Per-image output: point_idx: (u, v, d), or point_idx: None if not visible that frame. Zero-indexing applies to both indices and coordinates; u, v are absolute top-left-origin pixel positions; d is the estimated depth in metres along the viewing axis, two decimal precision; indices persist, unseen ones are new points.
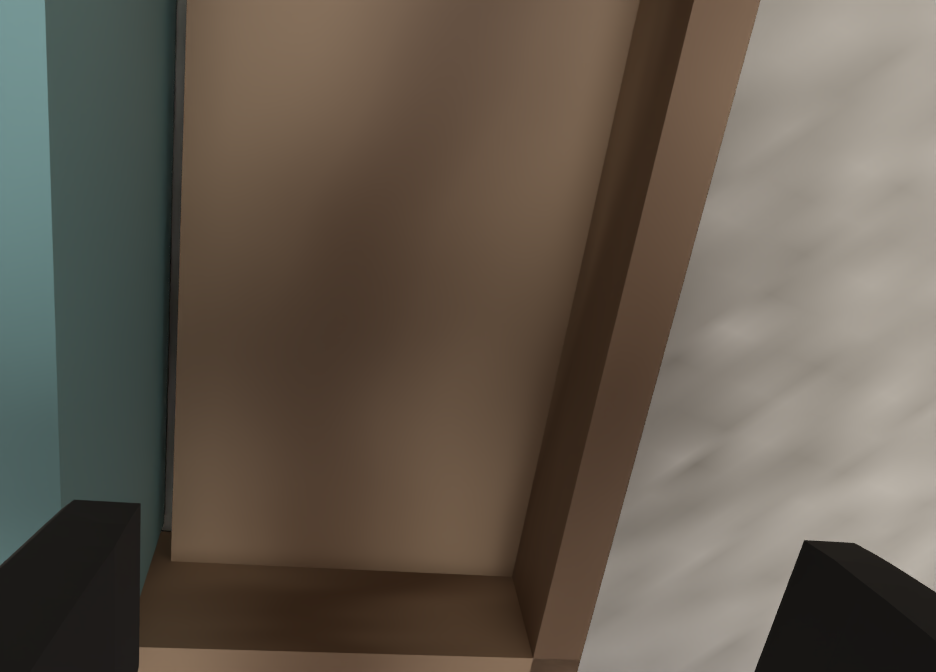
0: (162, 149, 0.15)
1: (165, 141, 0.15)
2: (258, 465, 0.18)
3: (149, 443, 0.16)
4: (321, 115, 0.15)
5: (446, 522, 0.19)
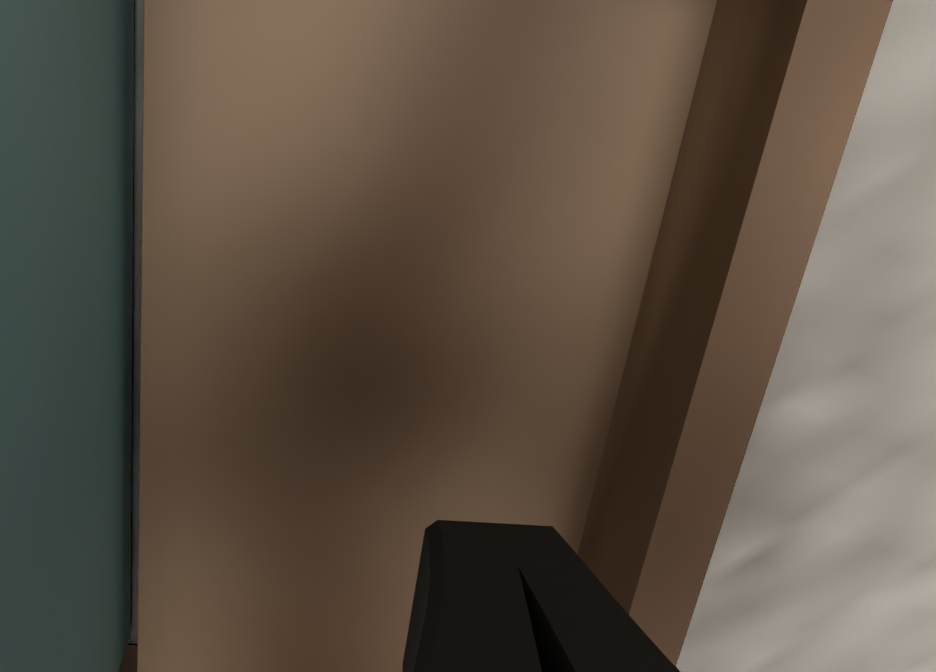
0: (116, 209, 0.12)
1: (120, 198, 0.12)
2: (240, 576, 0.15)
3: (105, 562, 0.13)
4: (315, 165, 0.12)
5: None
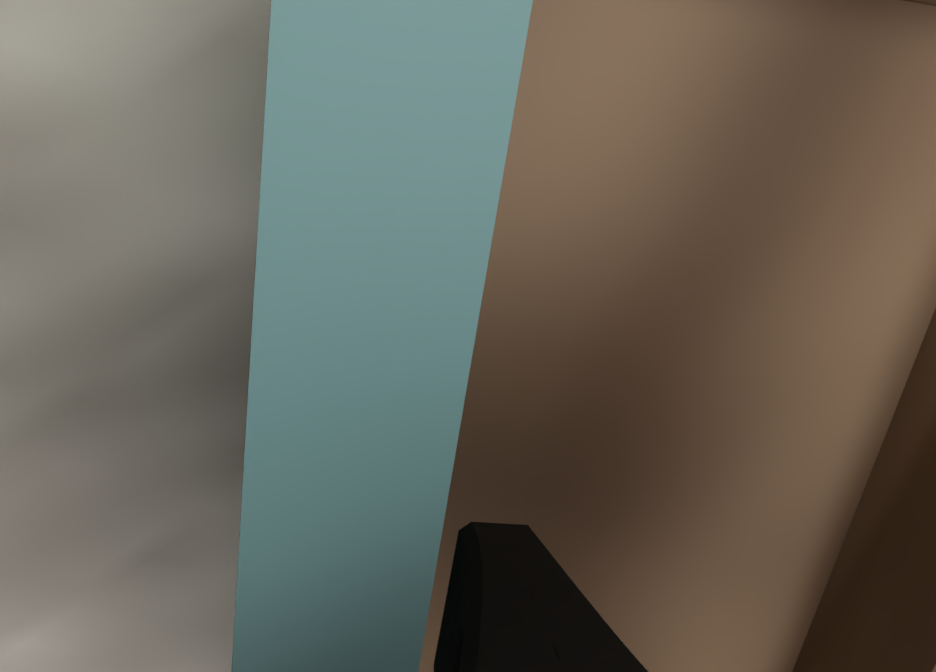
0: None
1: None
2: None
3: None
4: (597, 227, 0.11)
5: None
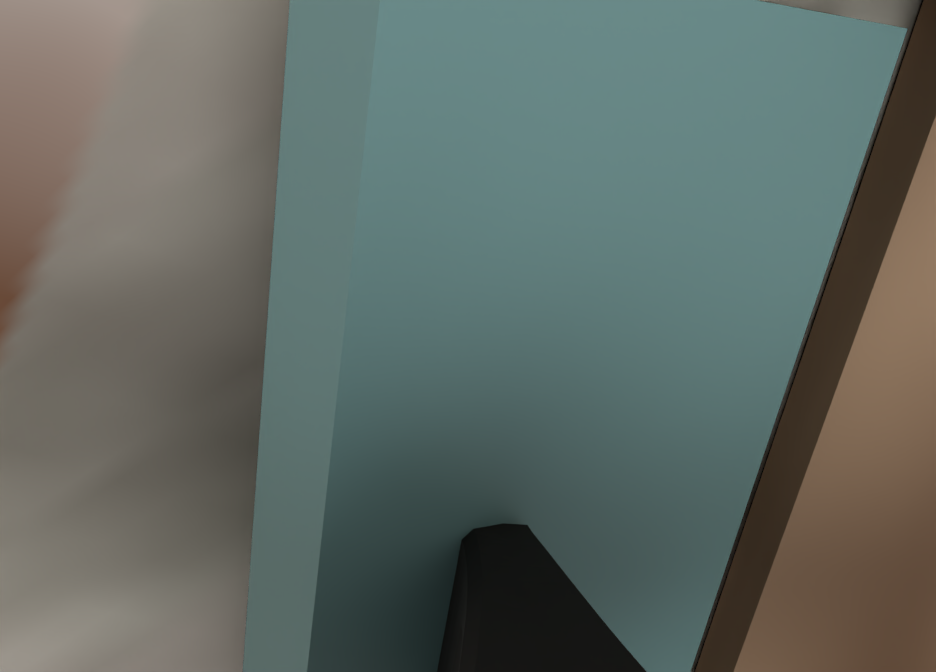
0: (761, 342, 0.11)
1: (775, 333, 0.11)
2: None
3: None
4: None
5: None
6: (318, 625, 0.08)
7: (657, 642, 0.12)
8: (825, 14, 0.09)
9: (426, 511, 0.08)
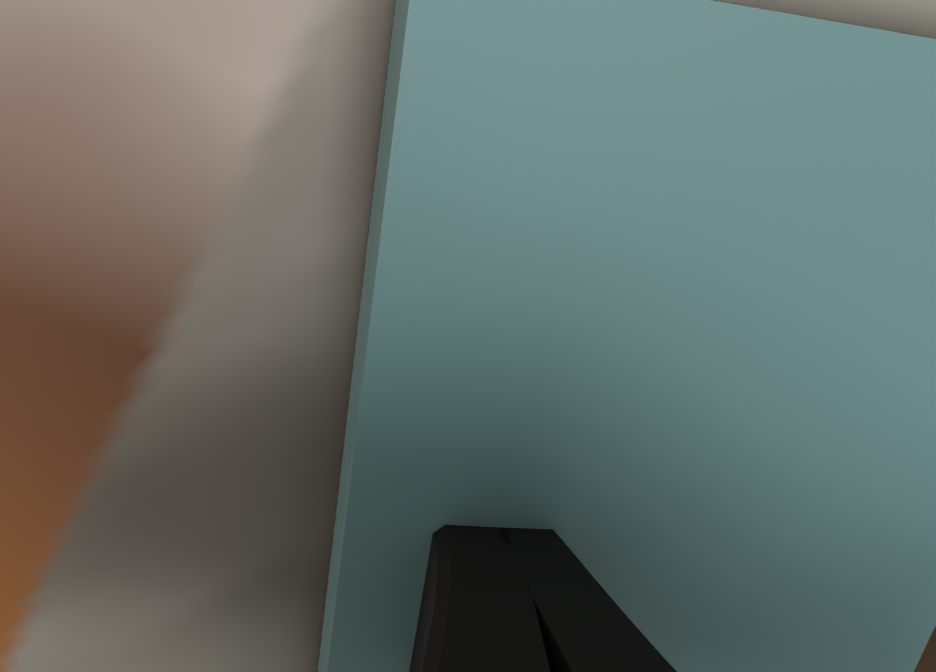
0: None
1: None
2: None
3: None
4: None
5: None
6: (347, 566, 0.08)
7: None
8: None
9: (463, 494, 0.08)
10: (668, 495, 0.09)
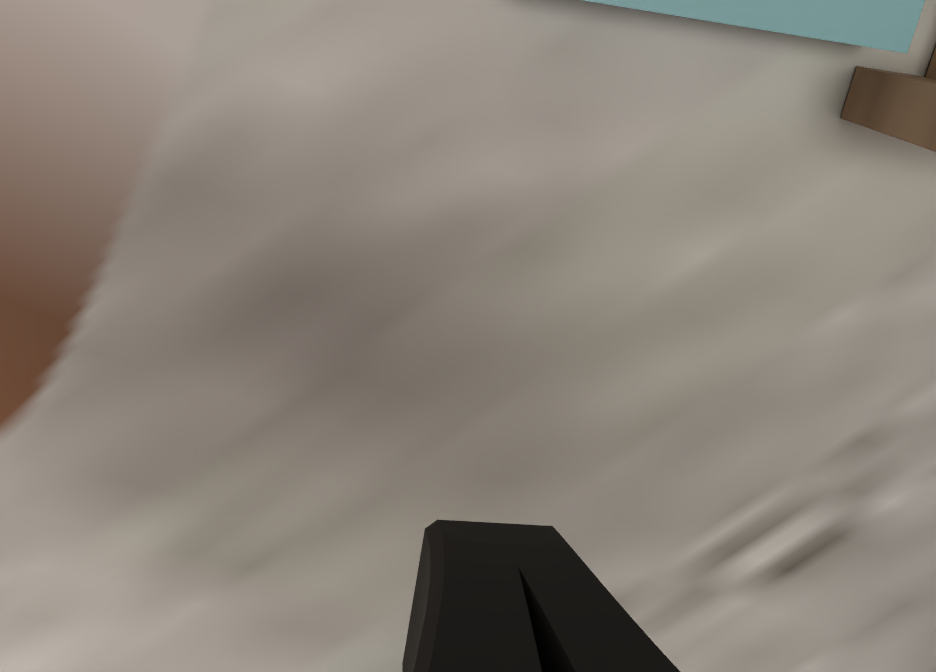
0: None
1: None
2: None
3: None
4: None
5: None
6: None
7: None
8: None
9: None
10: None
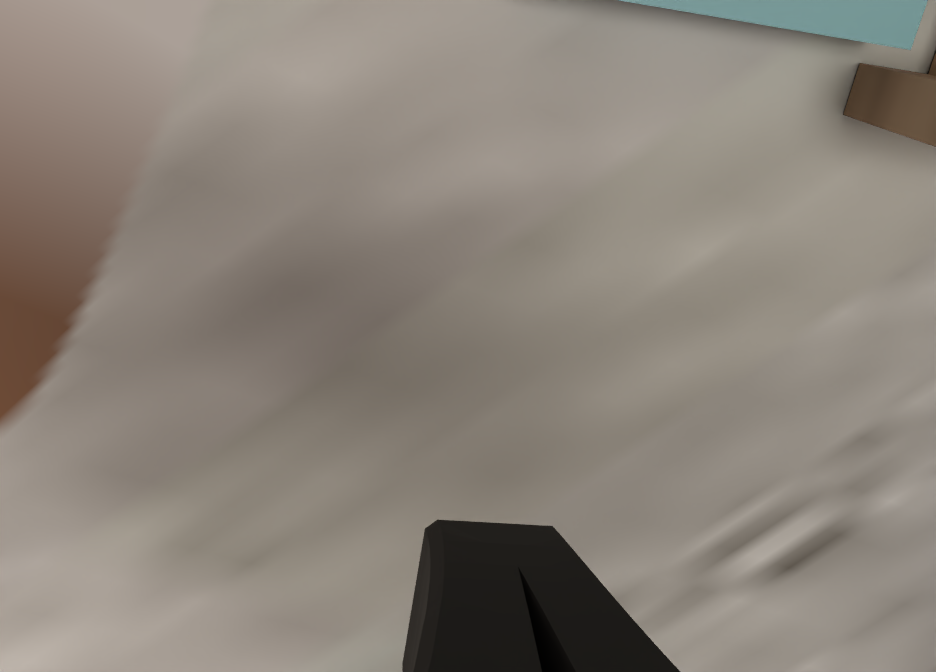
0: None
1: None
2: None
3: None
4: None
5: None
6: None
7: None
8: None
9: None
10: None
